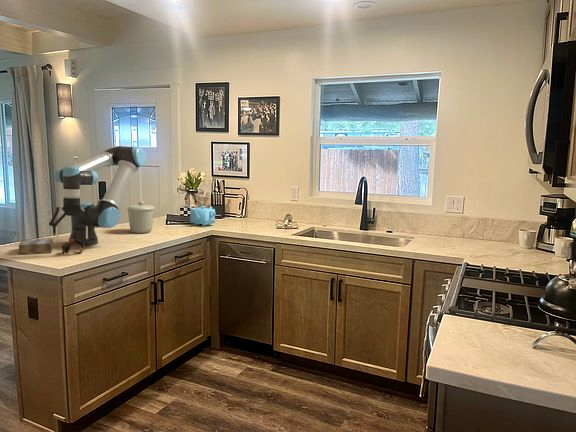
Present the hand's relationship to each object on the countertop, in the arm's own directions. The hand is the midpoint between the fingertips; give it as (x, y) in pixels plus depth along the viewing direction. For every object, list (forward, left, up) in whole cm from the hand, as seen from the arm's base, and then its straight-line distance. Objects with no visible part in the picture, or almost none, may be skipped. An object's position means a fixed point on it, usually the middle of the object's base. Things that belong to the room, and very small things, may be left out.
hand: (72, 238), depth 214 cm
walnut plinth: (+17, -11, -8) cm, 22 cm away
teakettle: (-86, -74, -8) cm, 114 cm away
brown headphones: (0, -1, -8) cm, 8 cm away
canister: (-40, -54, -8) cm, 68 cm away
